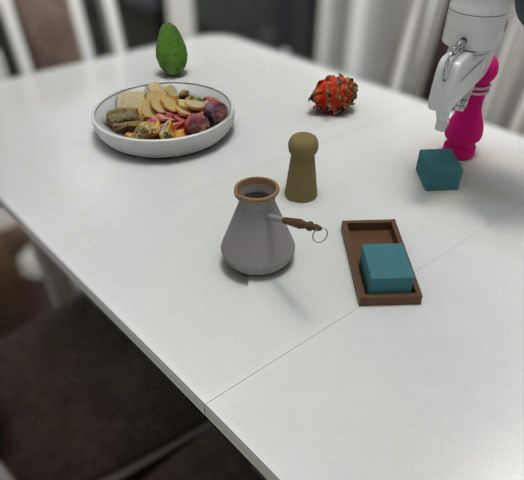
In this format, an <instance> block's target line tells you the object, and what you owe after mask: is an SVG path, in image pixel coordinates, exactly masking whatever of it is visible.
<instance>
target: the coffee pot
mask: <svg viewBox="0 0 524 480" xmlns="http://www.w3.org/2000/svg"><path fill="white" fill-rule="evenodd" d="M280 190H281V187H280V185H279V183H278V182H277V181H276V180H274V179H272V178H269V177H265V176H258V175H257V176H248V177H245V178H241V180H239V181H237V183H235V185H234V188H233V195H234V197H235V198H236V199H237V201H238V203H237V205H236V208H235V209H234V212H233V214H232V217H231V219H230V221H229V224H228V226H227V229H226V231H225V233H224V236H223V238H222V240H221V244H220V252H221V255H222V257H223V258H224V261H226V264H228V265H229V266H230V267H231V268H232V269H234V270H236V271H237V272H239V273H241V274H243V275H245V276H265V275H270V274H274V273H276V272H278V271H280V270H282V269H283V268H284V267H285V266H286V265H288V264H289V263H290V261H291V260H292V258H293V256H294V254H295V251H296V242H295V240H294V237H293V235H292V232H291V231H290V229H289V227H288V226H290V227H292V228H294V229H298V230H306V231H307V232H312V234H311V239H312V241H313V242H314V243H317V244H321V243H323V242H325V241H326V240H327V238H328V237H329V231H328V229H327V228H325V227H323V226H321V225H319V224H318V223H314V222H313V221H312V220H309V221H306V220H304V219H303V218H296V217H289V216H288V217H287V216H283V214H282V211H281V210H280V208H279V206H278V203H277V201H276V198H277V197H278V195H279V194H280ZM322 230H325V232H326V236H325V237H324V239H321V241H316V240H315V238H314V236H315V233H316V232H320V231H322Z"/></svg>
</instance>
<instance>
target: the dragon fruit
mask: <svg viewBox="0 0 524 480" xmlns="http://www.w3.org/2000/svg"><path fill="white" fill-rule="evenodd" d="M337 75H338V76H336V75H334V74H333V75H331V74H328V75H326V76H325V78H323V79H320V80H318V81H317V83H316V86H315V88H314V89H313V91H312V92H311V94H310V95H309V97H308V99H307V100H308V103H310V101H311V102H312V103H314V105H313V106H312V109H313V110H315V111H316V112H323V113H327V112H330V111H332V115H333V116H337V114H338V113H342V112H344V111H345V110H346V109H349V108H351V107H350V106H355V105H356V102H355V100H357V99H358V91H359V84H357V82H356V81H354V78H353V77H349V76H348V77H347V76H345V77H344V75H343V74H342V73H341V72H338V73H337Z"/></svg>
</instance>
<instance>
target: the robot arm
mask: <svg viewBox="0 0 524 480" xmlns="http://www.w3.org/2000/svg"><path fill="white" fill-rule="evenodd" d="M512 6H514V10H515V14H516V16H517V19H518V21H519V22H520V24H521V25H522V26H523V27H524V0H450V1H449V4H448V9H447V14H446V18H445V22H444V26H443V31H442V36H441V41H442V43H443V44H444V45H446V46H448V47H447V51H446V52H445V54H444V55H442V56H441V58H440V59H439V61H438V63H437V66H436V70H435V72H434V76H433V79H432V83H431V87H430V91H429V95H428V99H427V108H428V110H430V111H435V116H436V120H435V125H434V130H435V131H437V132H440V133H444V131H445V130H446V129H447V128H448V124H449V121H450V114H451V112H452V110H453V109H454V111H460V112H462V111H463V110H464V109H465V108H466V107H467V104H468V100H469V98H470V96H471V93H472V91H473V89H474V87H475V85H476V84H477V83H478V82H479V81H480V80H481V79H482V78H483V77H484V76H485V74H486V72H487V71H488V68H489V66H490V64H491V61H492V59H493V56H495V53H496V50H497V48H499V47H500V45H501V42H502V38H503V35H504V34H505V32H506V31H507V28H508V25H509V20H510V17H509V15H510V11H511V7H512Z"/></svg>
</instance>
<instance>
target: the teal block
mask: <svg viewBox="0 0 524 480" xmlns="http://www.w3.org/2000/svg"><path fill="white" fill-rule="evenodd" d="M404 246H405V245H404ZM404 246H403V244H402V243H393V244H362V249H361V255H360V262H359V268H360V272H361V276H362V280H363V284H364V288H365V292H366V294H393V293H411V290H412V286H413V282H414V278H415V277H414V274H413V271H412V269H411V266H410V263H409V260H408V258H407V255H406V252H405V249H404Z"/></svg>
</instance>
